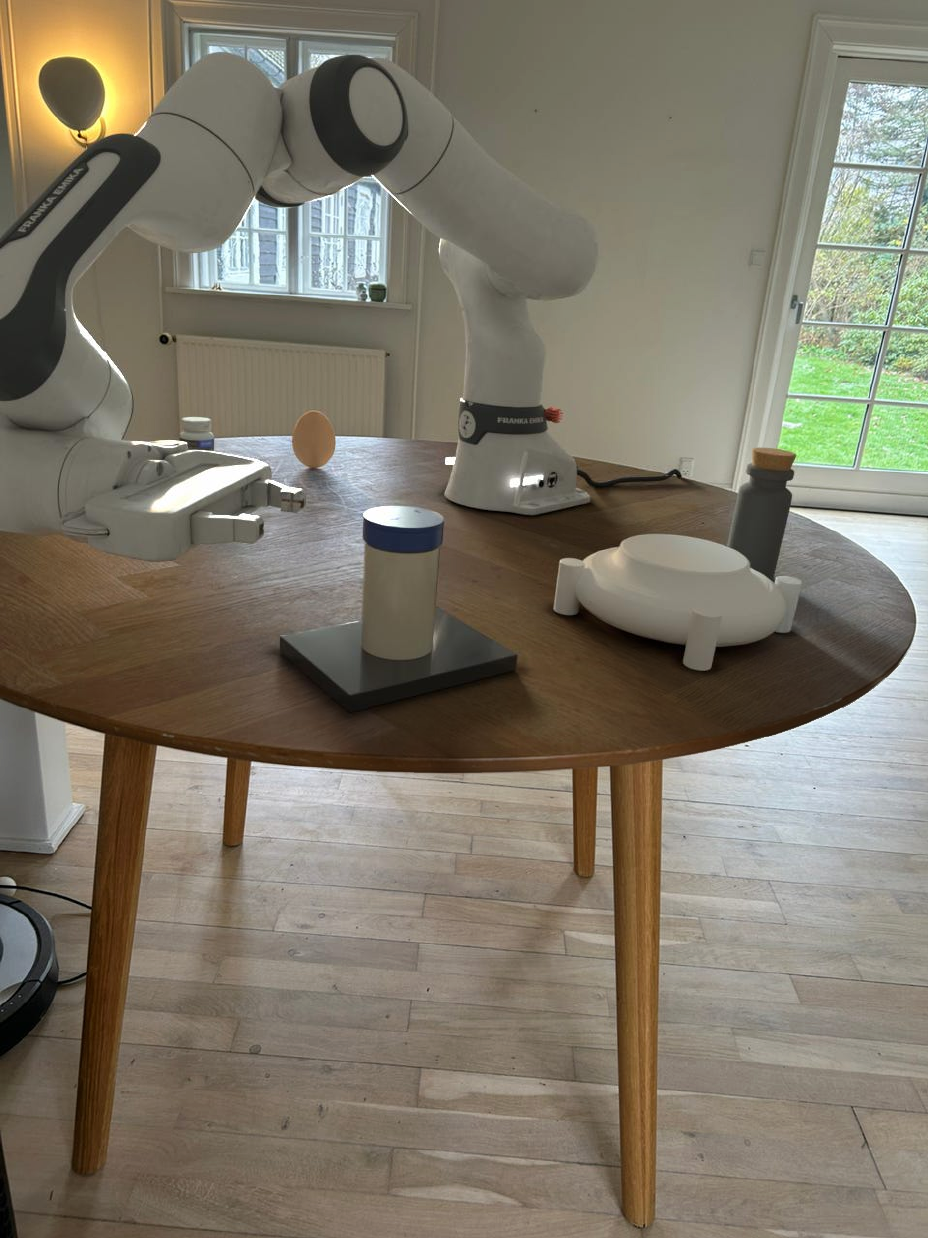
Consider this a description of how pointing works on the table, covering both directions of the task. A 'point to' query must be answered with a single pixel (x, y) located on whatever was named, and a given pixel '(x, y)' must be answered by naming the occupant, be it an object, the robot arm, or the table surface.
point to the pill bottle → (197, 433)
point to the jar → (399, 602)
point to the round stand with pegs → (679, 594)
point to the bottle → (763, 509)
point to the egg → (313, 439)
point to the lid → (403, 528)
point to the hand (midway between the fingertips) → (283, 515)
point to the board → (394, 662)
